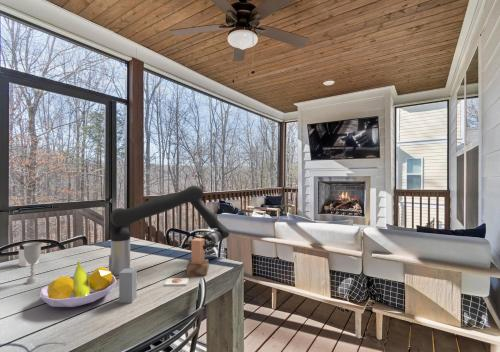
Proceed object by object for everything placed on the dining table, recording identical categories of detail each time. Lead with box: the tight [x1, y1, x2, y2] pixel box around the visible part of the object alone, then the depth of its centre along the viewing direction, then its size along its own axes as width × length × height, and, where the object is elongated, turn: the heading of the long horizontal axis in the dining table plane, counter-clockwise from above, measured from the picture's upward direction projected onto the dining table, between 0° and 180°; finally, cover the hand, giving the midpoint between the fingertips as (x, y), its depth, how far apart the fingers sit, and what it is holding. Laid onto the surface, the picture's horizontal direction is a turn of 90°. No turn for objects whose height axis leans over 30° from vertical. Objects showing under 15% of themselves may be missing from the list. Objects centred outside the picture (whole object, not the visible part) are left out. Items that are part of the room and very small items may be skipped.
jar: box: [18, 240, 40, 268], centre depth 154 cm, size 9×8×12 cm
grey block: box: [118, 267, 138, 304], centre depth 110 cm, size 5×5×12 cm
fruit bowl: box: [39, 261, 118, 308], centre depth 112 cm, size 28×27×11 cm
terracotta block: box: [190, 237, 206, 264], centre depth 142 cm, size 5×5×12 cm
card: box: [163, 277, 190, 287], centre depth 128 cm, size 10×7×1 cm
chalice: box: [23, 241, 43, 285], centre depth 128 cm, size 7×7×18 cm
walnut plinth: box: [186, 258, 209, 277], centre depth 142 cm, size 10×10×5 cm
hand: (196, 247), depth 141 cm, fingers open, 8 cm apart
